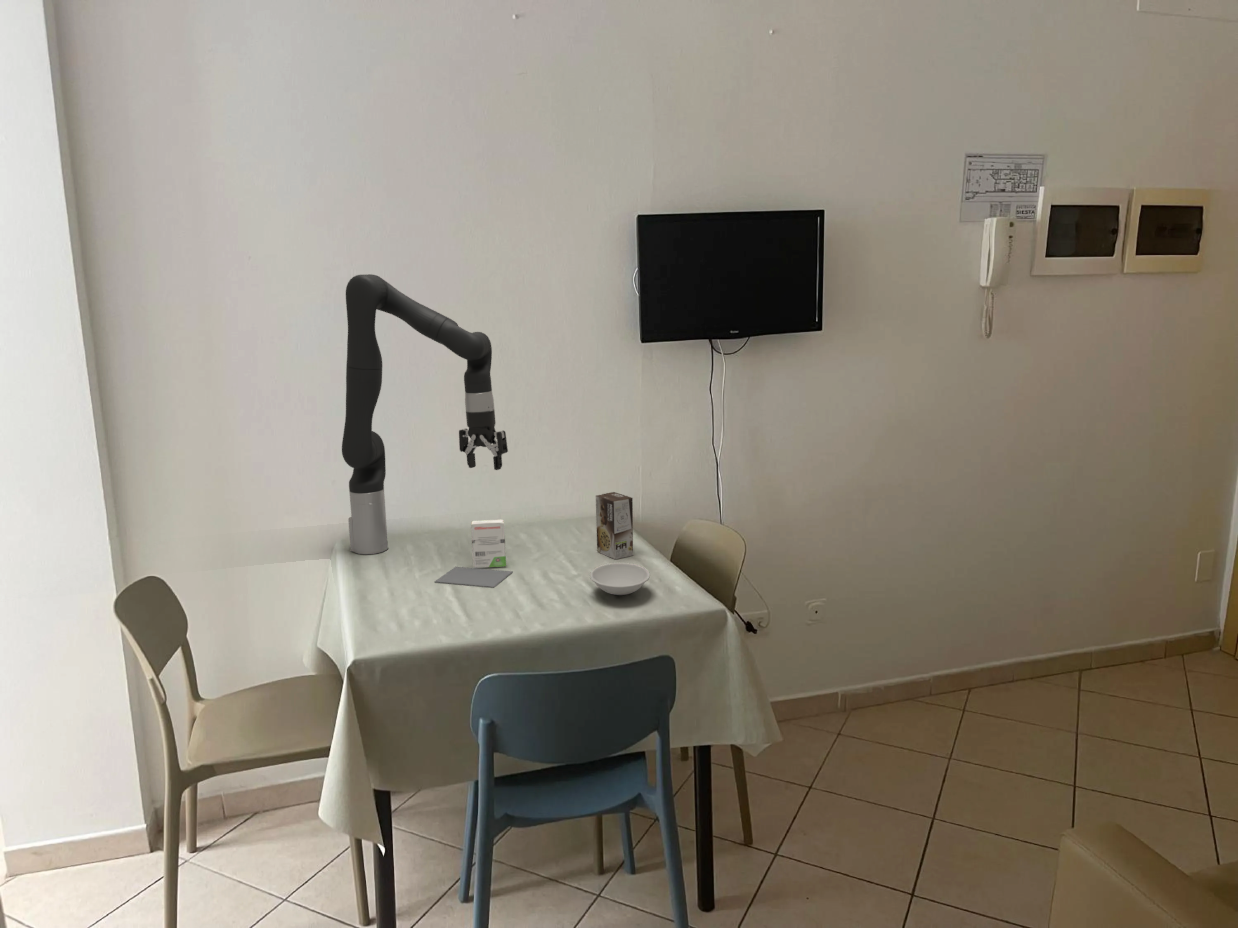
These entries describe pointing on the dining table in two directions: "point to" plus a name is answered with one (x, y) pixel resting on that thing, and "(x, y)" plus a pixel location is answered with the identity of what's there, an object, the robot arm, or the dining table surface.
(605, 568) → the dish
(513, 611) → the dining table surface
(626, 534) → the coffee box
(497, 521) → the ink box
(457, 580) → the mat
